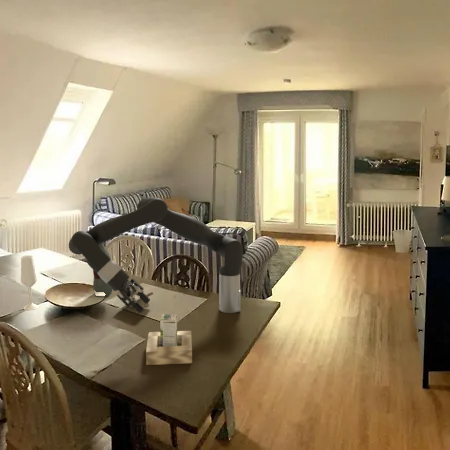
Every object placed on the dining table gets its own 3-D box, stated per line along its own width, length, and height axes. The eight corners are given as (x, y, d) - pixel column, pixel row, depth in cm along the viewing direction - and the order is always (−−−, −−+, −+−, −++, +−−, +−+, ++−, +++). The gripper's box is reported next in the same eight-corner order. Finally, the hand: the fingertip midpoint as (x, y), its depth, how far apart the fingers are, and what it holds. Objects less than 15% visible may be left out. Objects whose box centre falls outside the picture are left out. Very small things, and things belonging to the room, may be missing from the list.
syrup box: (161, 350, 183) (160, 313, 180) (177, 349, 183) (177, 313, 180) (160, 357, 177) (159, 319, 174) (176, 357, 177) (176, 319, 174)
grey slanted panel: (126, 326, 213) (151, 305, 210) (114, 310, 214) (138, 289, 211) (139, 317, 229) (163, 298, 226) (128, 302, 230) (151, 283, 227)
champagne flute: (41, 304, 227) (37, 254, 221) (36, 310, 220) (31, 258, 215) (26, 304, 226) (22, 254, 221) (21, 310, 220) (16, 258, 215)
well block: (191, 342, 189) (191, 330, 188) (192, 363, 173) (191, 350, 172) (149, 344, 187) (148, 332, 186) (146, 364, 172) (146, 351, 171)
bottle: (112, 296, 237) (109, 236, 230) (93, 298, 235) (89, 237, 229) (112, 290, 246) (109, 232, 239) (94, 291, 244) (90, 232, 238)
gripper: (113, 275, 168) (147, 308, 170) (126, 262, 182) (157, 292, 183) (99, 289, 170) (132, 321, 171) (113, 275, 184) (143, 305, 185)
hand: (145, 306), depth 177 cm, fingers open, 8 cm apart
